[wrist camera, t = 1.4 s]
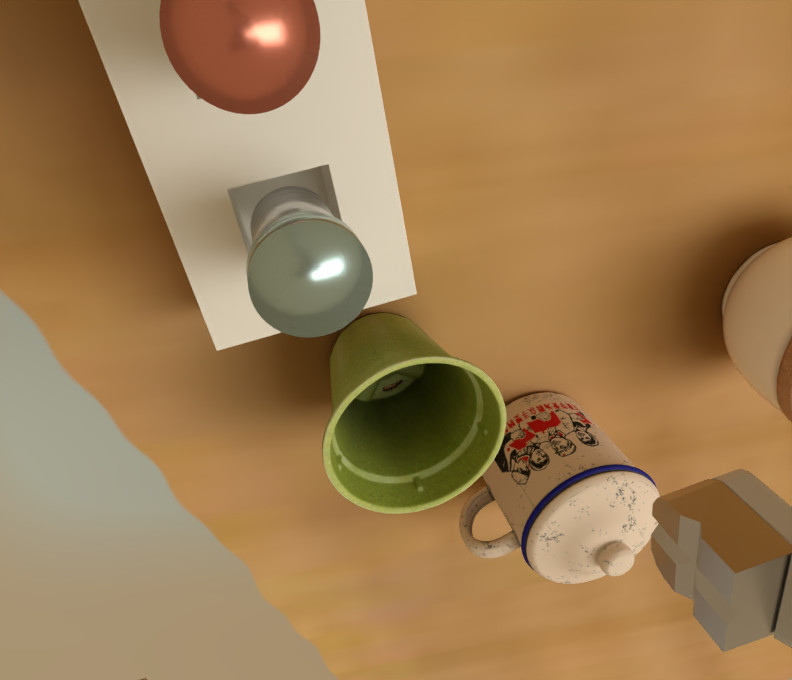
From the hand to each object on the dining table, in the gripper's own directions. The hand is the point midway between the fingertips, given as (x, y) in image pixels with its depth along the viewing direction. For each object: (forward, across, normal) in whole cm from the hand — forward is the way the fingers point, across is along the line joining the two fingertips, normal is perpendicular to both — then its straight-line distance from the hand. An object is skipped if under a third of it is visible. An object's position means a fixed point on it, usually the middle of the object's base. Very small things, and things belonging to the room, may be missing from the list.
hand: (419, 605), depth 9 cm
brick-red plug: (+20, 0, -8) cm, 21 cm away
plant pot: (+26, -3, +11) cm, 28 cm away
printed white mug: (+26, -11, +22) cm, 36 cm away
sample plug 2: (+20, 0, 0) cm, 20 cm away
